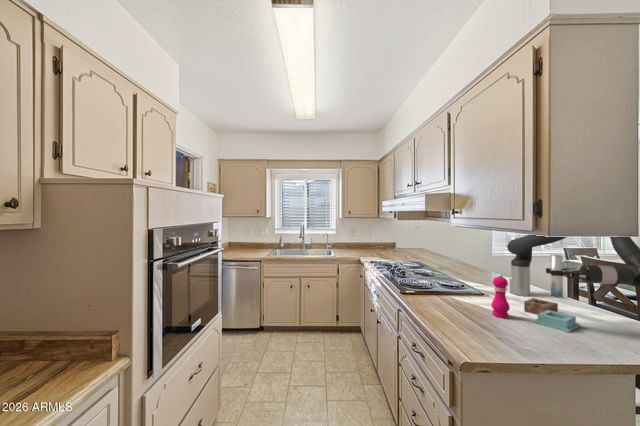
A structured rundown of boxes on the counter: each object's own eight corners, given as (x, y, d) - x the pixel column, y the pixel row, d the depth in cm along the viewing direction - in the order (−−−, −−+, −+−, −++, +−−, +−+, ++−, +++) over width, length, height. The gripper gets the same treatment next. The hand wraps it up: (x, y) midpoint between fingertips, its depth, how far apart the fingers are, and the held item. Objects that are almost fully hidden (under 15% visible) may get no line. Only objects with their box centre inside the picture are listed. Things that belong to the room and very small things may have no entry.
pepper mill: (489, 316, 130) (489, 273, 130) (493, 312, 135) (493, 271, 136) (508, 320, 125) (507, 276, 125) (510, 315, 131) (510, 273, 131)
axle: (549, 295, 121) (548, 254, 121) (553, 294, 123) (552, 254, 123) (560, 298, 117) (560, 256, 118) (564, 296, 119) (563, 255, 120)
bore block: (524, 311, 137) (524, 301, 137) (533, 307, 142) (533, 298, 142) (549, 317, 128) (549, 306, 128) (557, 313, 133) (557, 303, 133)
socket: (534, 322, 122) (534, 313, 122) (545, 317, 128) (545, 308, 128) (568, 332, 112) (568, 322, 112) (579, 326, 118) (579, 317, 118)
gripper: (587, 262, 122) (541, 260, 128) (609, 268, 109) (556, 266, 114) (587, 279, 122) (541, 276, 128) (609, 287, 109) (556, 284, 114)
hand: (548, 271), depth 121 cm, fingers closed on axle, 4 cm apart
